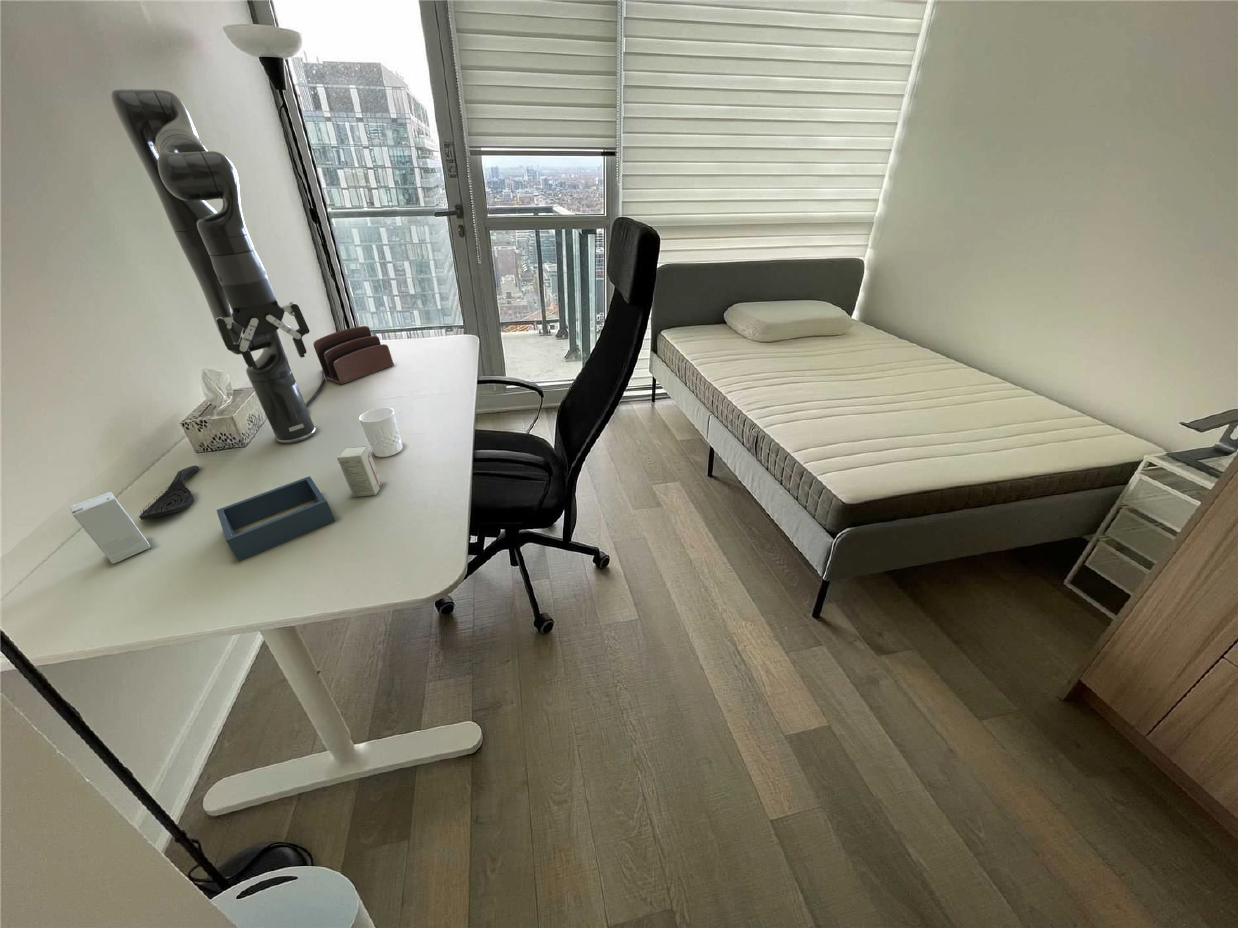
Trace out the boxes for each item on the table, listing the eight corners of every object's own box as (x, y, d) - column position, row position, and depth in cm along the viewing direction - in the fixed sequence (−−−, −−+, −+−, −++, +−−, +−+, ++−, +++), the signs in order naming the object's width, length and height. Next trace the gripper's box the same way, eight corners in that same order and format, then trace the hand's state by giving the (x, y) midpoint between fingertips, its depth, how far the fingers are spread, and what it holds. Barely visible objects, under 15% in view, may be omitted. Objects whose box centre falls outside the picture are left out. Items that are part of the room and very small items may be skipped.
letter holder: (325, 379, 172) (310, 338, 165) (378, 361, 185) (366, 322, 178) (341, 385, 167) (325, 343, 159) (394, 365, 180) (382, 326, 173)
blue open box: (227, 529, 103) (216, 509, 100) (318, 494, 112) (309, 475, 109) (238, 561, 94) (226, 540, 92) (335, 521, 103) (326, 501, 101)
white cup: (393, 459, 123) (381, 422, 118) (365, 457, 125) (351, 421, 120) (411, 443, 130) (400, 407, 125) (383, 441, 132) (371, 406, 126)
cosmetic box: (146, 539, 101) (111, 489, 95) (152, 548, 99) (116, 497, 93) (107, 556, 98) (67, 505, 91) (111, 566, 95) (71, 514, 89)
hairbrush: (209, 454, 125) (173, 505, 104) (216, 467, 126) (182, 519, 106) (168, 462, 122) (124, 516, 102) (176, 476, 124) (134, 531, 103)
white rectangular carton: (383, 484, 114) (369, 445, 109) (375, 495, 110) (361, 455, 105) (359, 485, 114) (344, 446, 109) (351, 497, 110) (335, 457, 105)
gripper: (282, 269, 101) (312, 349, 109) (195, 283, 93) (235, 367, 101) (290, 274, 96) (321, 357, 104) (199, 289, 88) (241, 377, 96)
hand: (279, 362), depth 103 cm, fingers open, 8 cm apart
